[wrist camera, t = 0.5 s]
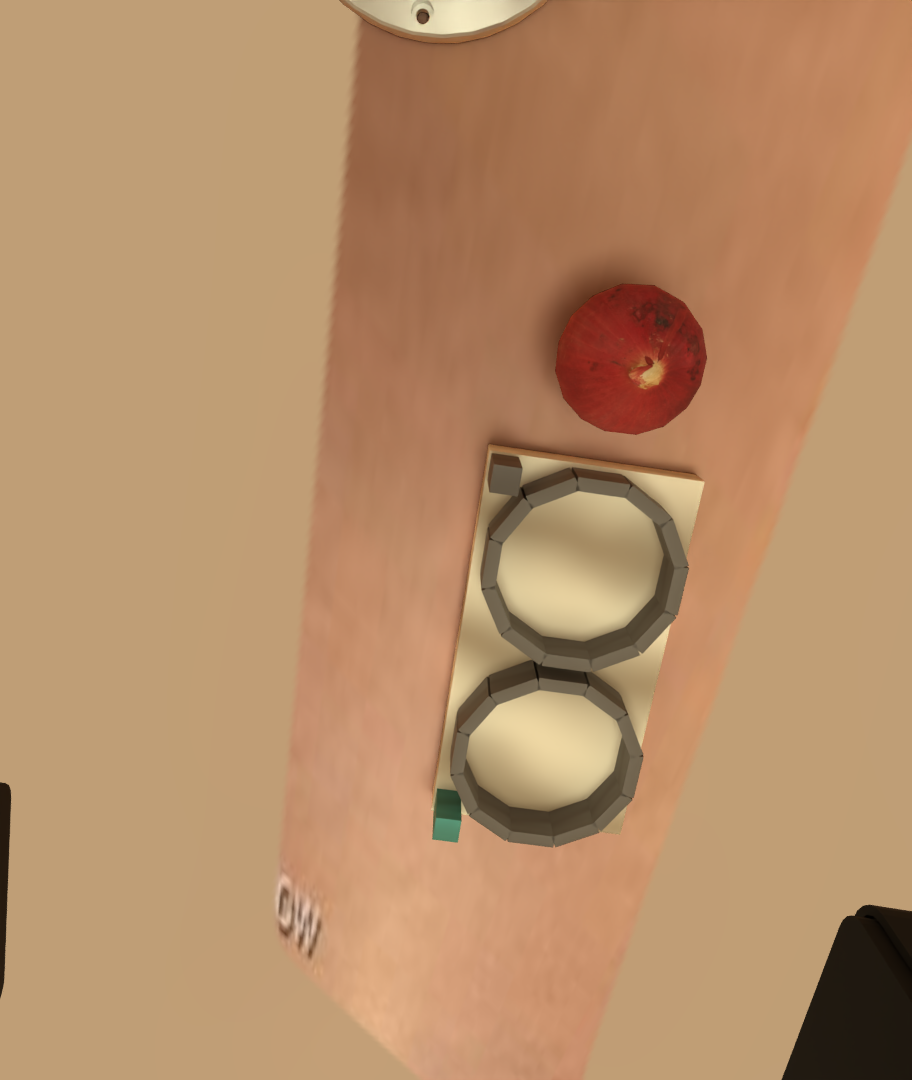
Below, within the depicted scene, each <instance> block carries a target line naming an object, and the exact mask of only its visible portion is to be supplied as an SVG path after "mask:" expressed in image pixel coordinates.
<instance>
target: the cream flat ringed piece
mask: <svg viewBox="0 0 912 1080" xmlns="http://www.w3.org/2000/svg"><path fill="white" fill-rule="evenodd" d="M703 487H704V481H703V480H702V479H701V478H699V477H698V476H697V475H696V474H690V473H683V472H676V471H669V470H662V469H655V468H649V467H642V466H635V465H628V464H621V463H615V462H608V461H601V460H594V459H587V458H580V457H574V456H567V455H560V454H553V453H546V452H540V451H533V450H526V449H519V448H512V447H506V446H499V445H492V444H488V450H487V456H486V462H485V469H484V475H483V481H482V487H481V494H480V500H479V506H478V512H477V518H476V525H475V531H474V537H473V543H472V550H471V556H470V562H469V568H468V574H467V581H466V587H465V593H464V599H463V606H462V612H461V618H460V624H459V630H458V637H457V643H456V649H455V655H454V661H453V668H452V674H451V680H450V686H449V693H448V699H447V705H446V711H445V717H444V724H443V730H442V736H441V742H440V749H439V755H438V761H437V767H436V773H435V780H434V786H433V792H432V811H434V815H433V838H432V839H434V840H442V841H449V842H457V843H458V838H459V832H460V826H461V814H462V815H469V816H470V817H471V818H473V819H474V820H476V821H477V822H478V823H480V824H481V825H483V826H484V827H486V828H487V829H489V830H490V831H492V832H493V833H495V834H496V835H497V836H499V837H500V838H502V839H503V840H505V841H506V840H508V842H513V843H521V844H529V845H537V846H545V847H553V845H555V847H558V846H561V845H564V844H567V843H570V842H573V841H576V840H579V839H582V838H585V837H588V836H591V835H594V834H597V833H599V832H603V833H611V834H619V835H620V834H621V830H622V826H623V821H624V817H625V813H626V809H627V805H628V804H629V803H630V802H631V801H632V798H634V794H635V790H636V786H637V782H638V778H639V773H640V769H641V765H642V761H643V752H642V750H641V746H642V742H643V738H644V733H645V729H646V725H647V721H648V717H649V713H650V708H651V704H652V700H653V696H654V692H655V687H656V683H657V679H658V675H659V671H660V667H661V662H662V658H663V654H664V650H665V646H666V641H667V637H668V633H669V629H670V625H671V623H672V622H673V621H674V620H675V619H676V617H675V615H678V611H679V607H680V603H681V599H682V595H683V591H684V587H685V582H686V578H687V574H688V570H689V568H688V567H687V566H689V565H688V562H687V559H686V558H687V554H688V549H689V545H690V541H691V537H692V533H693V528H694V524H695V520H696V516H697V512H698V508H699V503H700V499H701V495H702V491H703Z"/></svg>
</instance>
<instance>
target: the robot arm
mask: <svg viewBox="0 0 912 1080" xmlns="http://www.w3.org/2000/svg"><path fill="white" fill-rule="evenodd" d="M340 1H341V2H342V3H343V4H344V5H345V6H346V7H348V8H349V9H350V10H352V11H353V12H355V13H356V14H357V15H359V16H360V17H362V18H363V19H364V20H366V21H367V22H368V23H370V24H372V25H374V26H377V27H379V28H381V29H383V30H385V31H388V32H390V33H392V34H394V35H396V36H399V37H404V38H408V39H413V40H417V41H422V42H426V43H461V42H465V41H470V40H475V39H479V38H484V37H488V36H491V35H493V34H495V33H497V32H500V31H502V30H504V29H506V28H509V27H511V26H513V25H515V24H517V23H519V22H520V21H522V20H523V19H524V18H526V17H527V16H529V15H530V14H531V13H533V12H534V11H536V10H537V9H538V8H540V7H541V6H543V5H544V4H545V3H546V1H547V0H340ZM420 12H425V13H427V14H428V15H429V17H430V18H429V21H428V22H427V23H426V24H420V23H418V21H417V20H416V18H417V15H418V14H419V13H420ZM10 811H11V790H10V787H9V785H7V784H6V783H0V997H1V994H2V989H3V984H4V971H5V945H6V944H5V943H6V918H7V917H6V916H7V890H8V889H7V888H8V863H9V837H10ZM782 1080H912V911H906V910H899V909H893V908H886V907H880V906H874V905H865V906H862V907H861V908H860V909H859V910H857V912H856V914H855V916H847V917H846V918H845V919H844V920H843V921H842V923H841V925H840V927H839V930H838V932H837V935H836V938H835V940H834V943H833V945H832V948H831V951H830V953H829V956H828V959H827V961H826V964H825V966H824V969H823V972H822V974H821V977H820V980H819V982H818V985H817V988H816V990H815V993H814V996H813V998H812V1001H811V1004H810V1006H809V1009H808V1011H807V1014H806V1017H805V1019H804V1022H803V1025H802V1027H801V1030H800V1033H799V1036H798V1038H797V1041H796V1043H795V1046H794V1049H793V1051H792V1054H791V1056H790V1059H789V1062H788V1064H787V1067H786V1070H785V1072H784V1075H783V1078H782Z"/></svg>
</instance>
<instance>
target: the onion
mask: <svg viewBox="0 0 912 1080" xmlns="http://www.w3.org/2000/svg"><path fill="white" fill-rule="evenodd" d="M706 360H707V355H706V349H705V343H704V336H703V330H702V328H701V327H700V325H699V324H698V322H697V321H696V319H695V318H694V316H693V315H692V313H691V312H690V310H689V309H688V307H687V306H686V304H685V303H684V302H683V301H681V300H679V299H677V298H676V297H674V296H672V295H670V294H669V293H667V292H665V291H663V290H662V289H660V288H658V287H656V286H655V285H637V284H620V285H618V286H615V287H613V288H611V289H608V290H606V291H603V292H601V293H598V294H596V295H594V296H592V297H591V298H590V299H589V300H588V301H587V302H586V303H585V304H584V305H583V306H582V307H580V308H579V309H578V310H577V311H576V312H575V313H574V314H573V315H572V316H571V318H570V320H569V322H568V324H567V326H566V328H565V330H564V332H563V334H562V336H561V338H560V340H559V343H558V352H557V361H556V369H555V372H556V375H557V378H558V381H559V385H560V388H561V391H562V395H563V398H564V399H565V400H566V402H567V403H568V404H569V405H570V406H571V407H572V409H573V410H574V411H575V412H576V413H577V414H578V416H579V417H580V418H581V419H583V420H584V421H586V422H588V423H590V424H592V425H594V426H596V427H598V428H600V429H602V430H604V431H609V432H618V433H626V434H635V435H637V434H640V433H644V432H647V431H650V430H654V429H657V428H661V427H664V426H665V425H666V424H667V423H669V422H670V421H671V420H672V419H674V418H675V417H676V416H677V415H679V414H680V413H681V412H682V411H684V410H685V409H686V408H687V407H688V405H689V403H690V402H691V400H692V399H693V397H694V395H695V394H696V392H697V390H698V389H699V387H700V385H701V381H702V377H703V373H704V369H705V365H706Z"/></svg>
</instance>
